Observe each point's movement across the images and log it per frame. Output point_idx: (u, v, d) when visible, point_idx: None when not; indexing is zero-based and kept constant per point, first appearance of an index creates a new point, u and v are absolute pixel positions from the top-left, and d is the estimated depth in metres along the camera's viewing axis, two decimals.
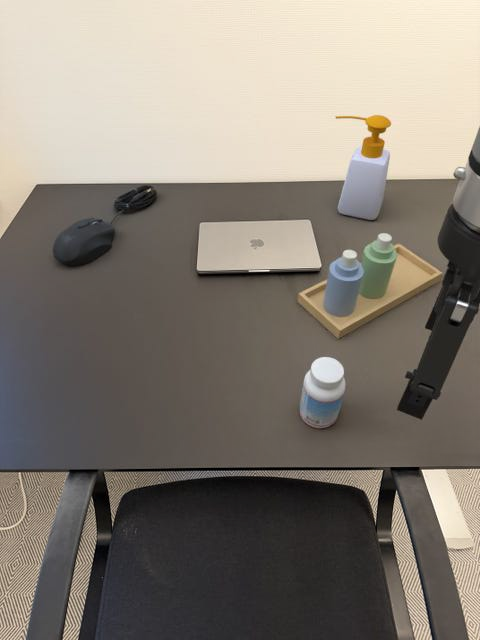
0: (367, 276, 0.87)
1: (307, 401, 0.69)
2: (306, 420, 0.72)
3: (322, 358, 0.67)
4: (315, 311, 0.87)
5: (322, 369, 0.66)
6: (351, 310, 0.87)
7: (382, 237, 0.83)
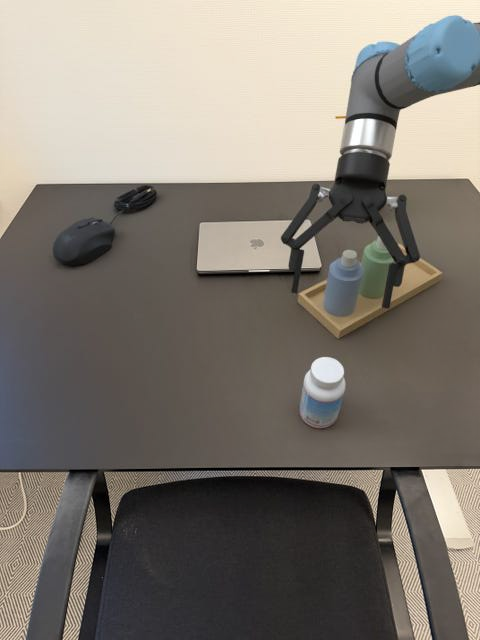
0: (367, 276, 0.87)
1: (307, 401, 0.69)
2: (306, 420, 0.72)
3: (322, 358, 0.67)
4: (315, 311, 0.87)
5: (322, 369, 0.66)
6: (351, 310, 0.87)
7: None
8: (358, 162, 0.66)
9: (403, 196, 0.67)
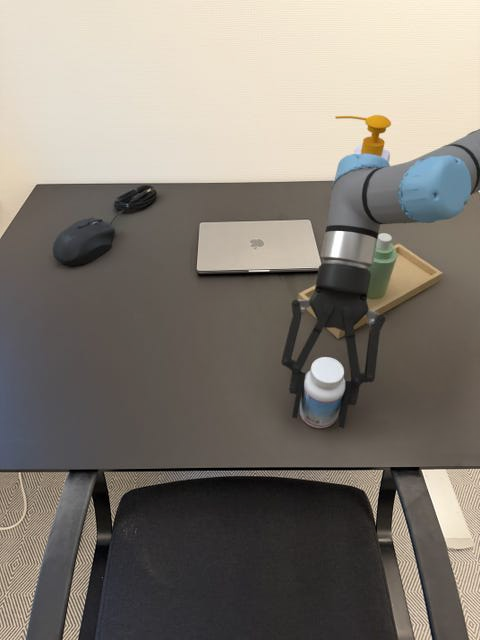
0: None
1: (307, 401, 0.69)
2: (306, 420, 0.72)
3: (322, 358, 0.67)
4: None
5: (322, 369, 0.66)
6: None
7: (382, 237, 0.83)
8: (338, 275, 0.65)
9: (383, 316, 0.66)
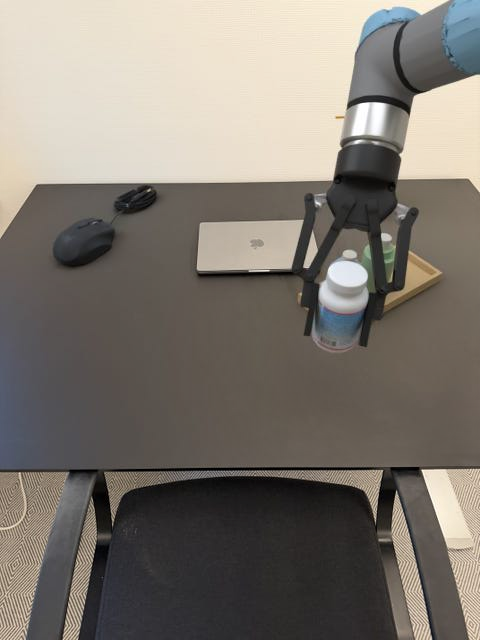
0: None
1: (322, 316, 0.57)
2: (320, 343, 0.60)
3: (341, 262, 0.56)
4: None
5: (341, 273, 0.54)
6: None
7: (382, 237, 0.83)
8: (362, 156, 0.53)
9: (416, 210, 0.54)
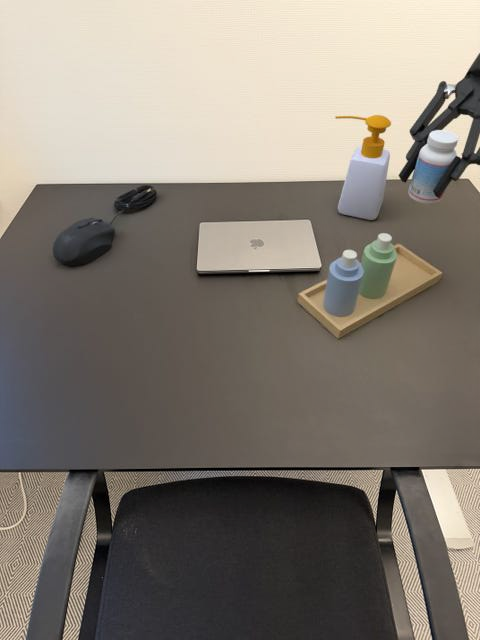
0: (367, 276, 0.87)
1: (416, 166, 0.81)
2: (410, 192, 0.84)
3: (444, 130, 0.78)
4: (315, 311, 0.87)
5: (439, 135, 0.77)
6: (351, 310, 0.87)
7: (382, 237, 0.83)
8: None
9: None
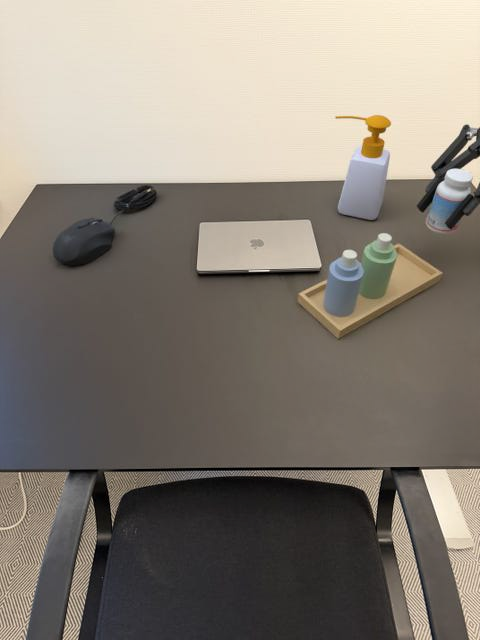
0: (367, 276, 0.87)
1: (433, 199, 0.89)
2: (427, 221, 0.93)
3: (461, 169, 0.87)
4: (315, 311, 0.87)
5: (455, 173, 0.86)
6: (351, 310, 0.87)
7: (382, 237, 0.83)
8: None
9: None
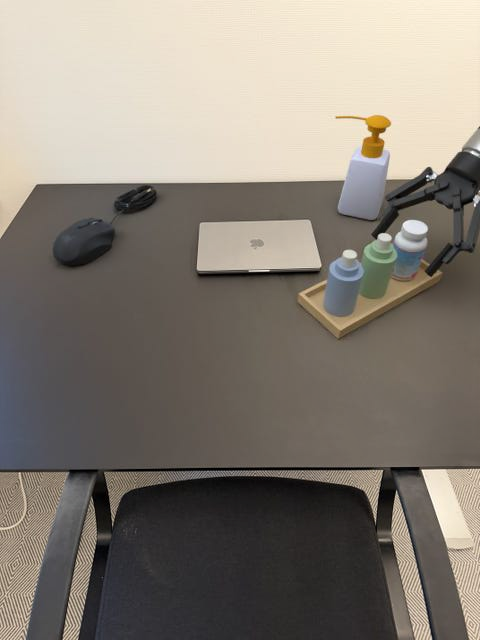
0: (367, 276, 0.87)
1: None
2: None
3: (418, 221, 0.89)
4: (315, 311, 0.87)
5: (411, 225, 0.88)
6: (351, 310, 0.87)
7: (382, 237, 0.83)
8: (461, 159, 0.84)
9: None
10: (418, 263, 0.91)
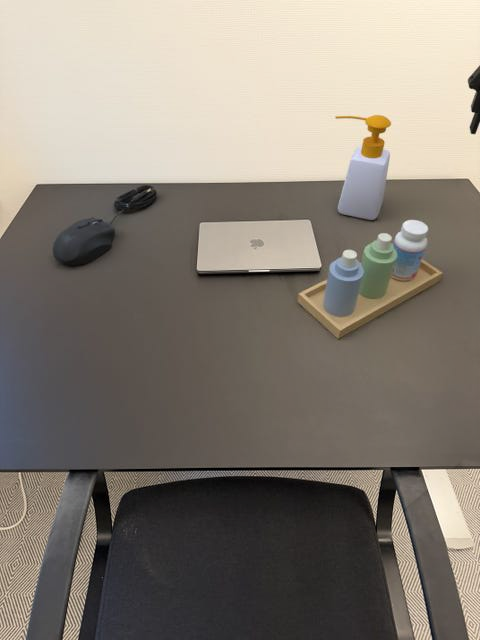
0: (367, 276, 0.87)
1: None
2: None
3: (418, 221, 0.89)
4: (315, 311, 0.87)
5: (412, 225, 0.88)
6: (351, 310, 0.87)
7: (382, 237, 0.83)
8: None
9: None
10: (418, 263, 0.91)
